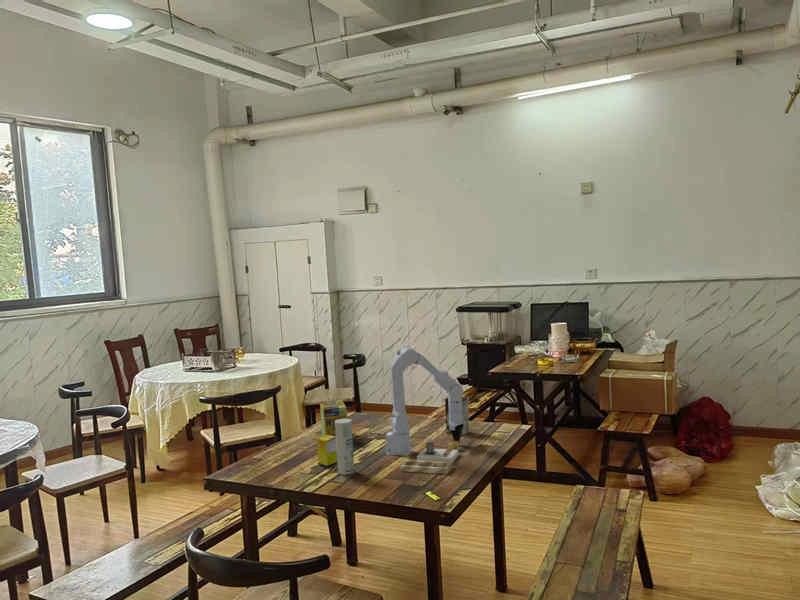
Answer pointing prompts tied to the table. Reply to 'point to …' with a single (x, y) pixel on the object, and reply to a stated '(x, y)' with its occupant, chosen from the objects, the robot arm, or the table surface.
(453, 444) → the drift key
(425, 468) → the rack
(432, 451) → the stepped metal cylinder
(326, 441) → the supplement box
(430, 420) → the table surface
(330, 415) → the protein box
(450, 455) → the socket block
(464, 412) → the coffee box
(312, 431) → the table surface
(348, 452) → the spray can
